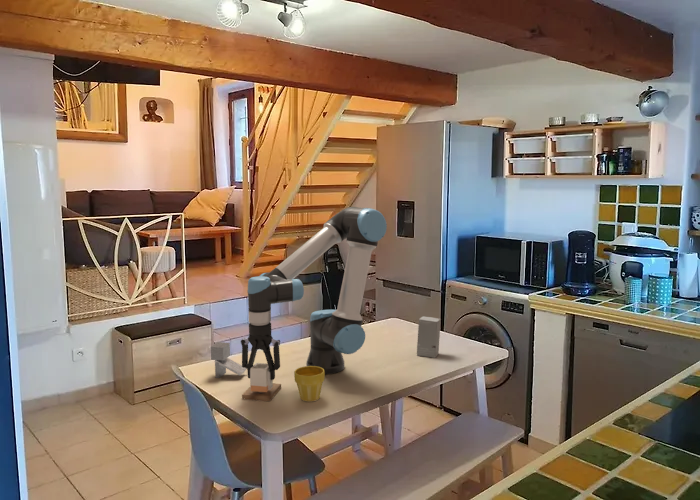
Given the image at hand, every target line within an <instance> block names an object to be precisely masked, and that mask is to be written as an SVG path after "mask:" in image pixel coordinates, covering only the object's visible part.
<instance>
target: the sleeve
mask: <svg viewBox="0 0 700 500" xmlns="http://www.w3.org/2000/svg"><path fill="white" fill-rule="evenodd" d="M268 371H269V366H268V363H264V362H255V364H253V367H251V368H250V373H251V391H257V392H267V391H268Z"/></svg>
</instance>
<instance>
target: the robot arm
mask: <svg viewBox="0 0 700 500" xmlns="http://www.w3.org/2000/svg"><path fill="white" fill-rule="evenodd" d="M387 225H388V224H387V220H386V218H385V217H384V215H383V213H382V212H381V211H379V210H378V209H374V208H371V207H370V208H369V207H357V206H350V207H346V208H343V209H342V210H340V211H339V212H338V213H335V215H333V216H331V218H329V219H328V220H327V221H326V222H324V224H323V228H322V229H320V230H319V231H318V232H317V233H315V234H314V235H313V236H312V237H311V238H309V239H308V240H307V241H306V242H304V244H302V245H301V246H299V248H298V249H296V250H295V251H294V252H293V253H291V254H290V255H289V256H288V257H286V259H284V260H283V261H282V262H281V263H279V264H278V265H277V266H276V267H275V268H273V269H272V270H270V272H263V273H261V274H260V275H259V276H252V277H250V278H249V279H248V281H247V290H246V291H247V305H248V322H249V324H248V337H244V338H242V339H241V340H240V344H241V365H242V367H243V368H244V367H245V368H247V369H246V371H247V378H248V379H249V383H250V384H249V387H250V389H251V373H250V368H251V367H253V366H254V365H255V364H254V363H255V359H256V355H257V353H258V350H261V351H262V352H263V354H264V356H265V360H266V364H268V366H269V371H268V390H271V388H272V387H273V381H274V380H275V378H276V371H278V370H279V369H280V368H281V359H280V357H281V355H280V346H281V345H280V344H281V340H280V339H277V340H276V339H274V337H273V336H272V322H271V321H272V304H273V305H275V304H281V303H287V302H288V303H289V302H292V303H293V302H295V301H300V300H302V299H303V297H304V295H305V289H304V288H305V287H304V284H303V282H302V280H300V279H299V278H296V277H298V276H299V275H300V274H302V272H303V271H304V270H306V269H307V268H308V267H310V265H312V264H313V263H314V262H315V261H316V260H317V259H319V258H320V257H321V256H322V255H324V254H325V253H326V252H327V251H328V250H329V249H331V248H332V247H333V246H334V245H336V244H341V243H342V242H344V240H346V244H348V246H349V248H348V252H347V257H346V261H345V266H344V267H345V268H344V271H343V272H344V273H343V278H342V283H341V287H340V292H339V297H338V298H339V299H338V303H337V309H321V310H315V311H313V312H311V314H310V317H309V327H310V328H309V330H310V331H309V333H310V336H309V337H310V350H309V353H308V357H307V360H306V366H317V367H321V368H323V369H324V371H325V375H330V374H337V373H339V372H341V371H343V370H344V369H345V359H344V356H343V355H353V354H355V353H356V352H358V351H359V350H361V348H362V347H363V345H364V343H365V340H366V331H365V330H364V328H363V327H362V325H363V320H364V319H363V316H362V315H361V314H360V313H361V311H362V310H361V308H362V304H363V297H364V293H365V288H366V285H367V284H366V283H367V280H368V279H367V278H368V273H369V269H370V268H369V267H370V263H371V258H372V252H373V251H374V250H375V249H376V248H377V247H378V242H379V241H380V240H382V239H383V238H384V237H385V235H386V234H387V233H386V232H387V227H388V226H387ZM295 278H296V279H295ZM249 343H250V345H251V348H250V349H251V350H250V354H249ZM271 344H272V347H273V354H272V352H271V346H270V345H271Z"/></svg>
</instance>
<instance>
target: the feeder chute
mask: <svg viewBox="0 0 700 500" xmlns="http://www.w3.org/2000/svg"><path fill="white" fill-rule="evenodd" d="M230 345H231V343H230V342H221V341H217V342H215V343H214V344H212V345H211V346H210V360H212V361H214V374H215V376H214V377H215V379H220V378H221V377H223V376H224V375H225V374H226V373H227V370H228V371H231V372H232V373H234V374H236V375H238V376H241V375H242V374H243V373H245V372H246V371H247V368H245V367H244V368H243V367H242V364H239V363H238V362H236V361H234V360H233V359H230V358H229V357H230V356H231V346H230Z"/></svg>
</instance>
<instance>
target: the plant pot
mask: <svg viewBox="0 0 700 500" xmlns="http://www.w3.org/2000/svg"><path fill="white" fill-rule="evenodd" d="M325 375H326V374H325V371H324V369H323V368H321V367H317V366H300V367H298V368H296V369H295V370H294V375H293V376H294V382H295V383H296V385H297V389H298V393H299V397H300V400H301V401H304V402H306V403H307V402H315V401H318V400H319V399H320V397H321V392H322V388H323V383H324V381H325V378H326V377H325Z"/></svg>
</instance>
